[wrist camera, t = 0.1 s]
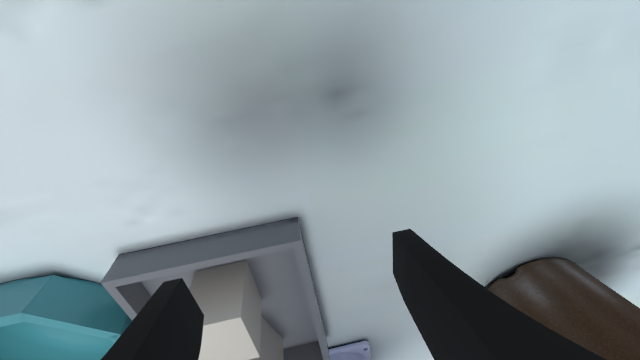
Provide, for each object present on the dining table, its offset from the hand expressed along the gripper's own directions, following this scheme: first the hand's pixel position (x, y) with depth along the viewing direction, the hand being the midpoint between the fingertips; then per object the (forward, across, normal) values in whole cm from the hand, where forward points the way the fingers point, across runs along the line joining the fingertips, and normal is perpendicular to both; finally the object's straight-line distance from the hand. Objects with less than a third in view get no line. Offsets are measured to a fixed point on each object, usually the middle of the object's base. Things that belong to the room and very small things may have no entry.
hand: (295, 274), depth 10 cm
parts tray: (+10, +7, +13) cm, 18 cm away
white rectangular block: (+10, +7, +10) cm, 16 cm away
